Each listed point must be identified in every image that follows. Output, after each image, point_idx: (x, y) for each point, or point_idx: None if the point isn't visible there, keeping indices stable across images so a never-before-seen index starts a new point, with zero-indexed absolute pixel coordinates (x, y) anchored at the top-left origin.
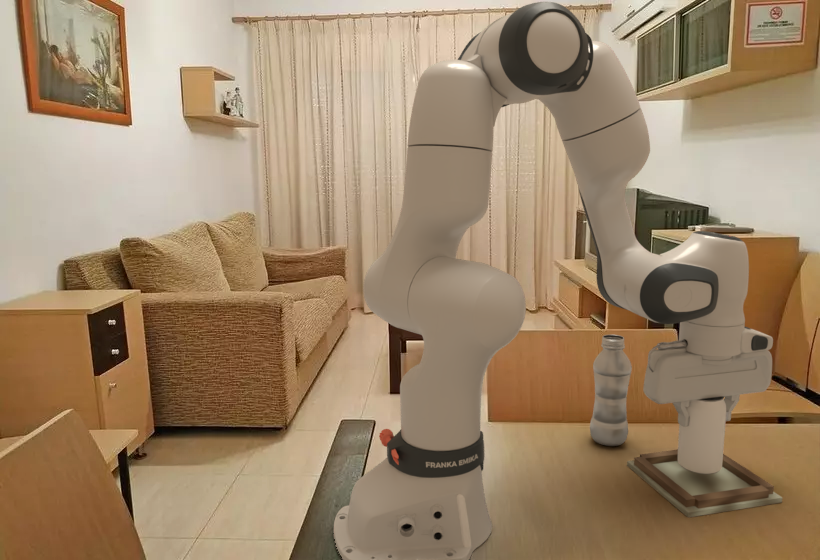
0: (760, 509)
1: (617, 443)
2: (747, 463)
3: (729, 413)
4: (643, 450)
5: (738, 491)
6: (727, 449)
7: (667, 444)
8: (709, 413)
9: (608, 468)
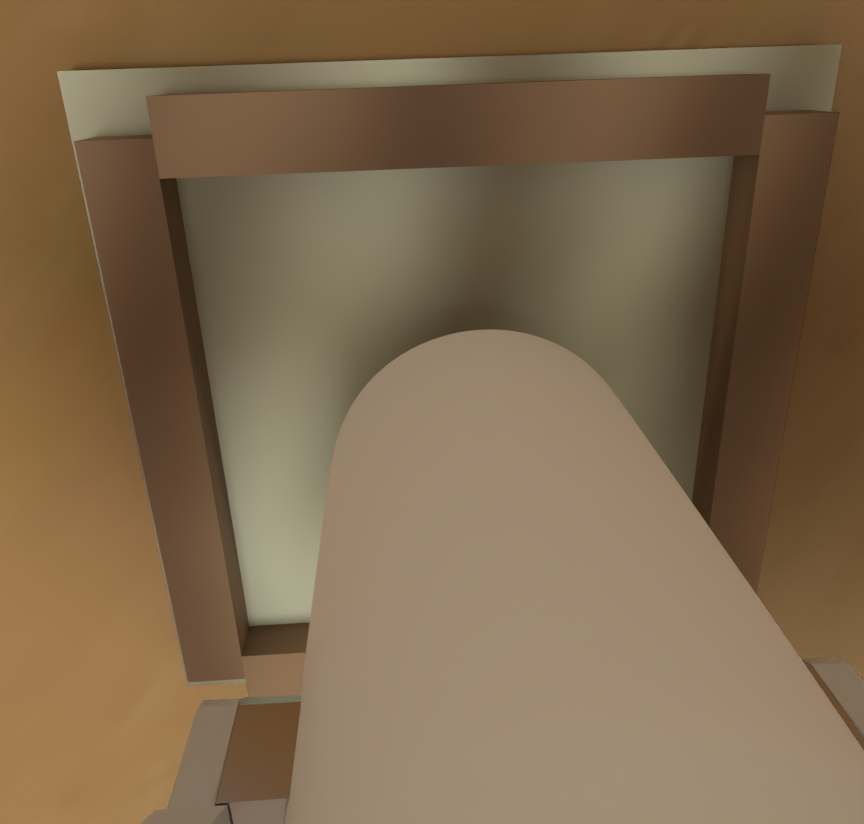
0: (281, 23)
1: None
2: (21, 546)
3: (210, 775)
4: None
5: (391, 134)
6: (53, 694)
7: None
8: (759, 708)
9: (840, 623)
